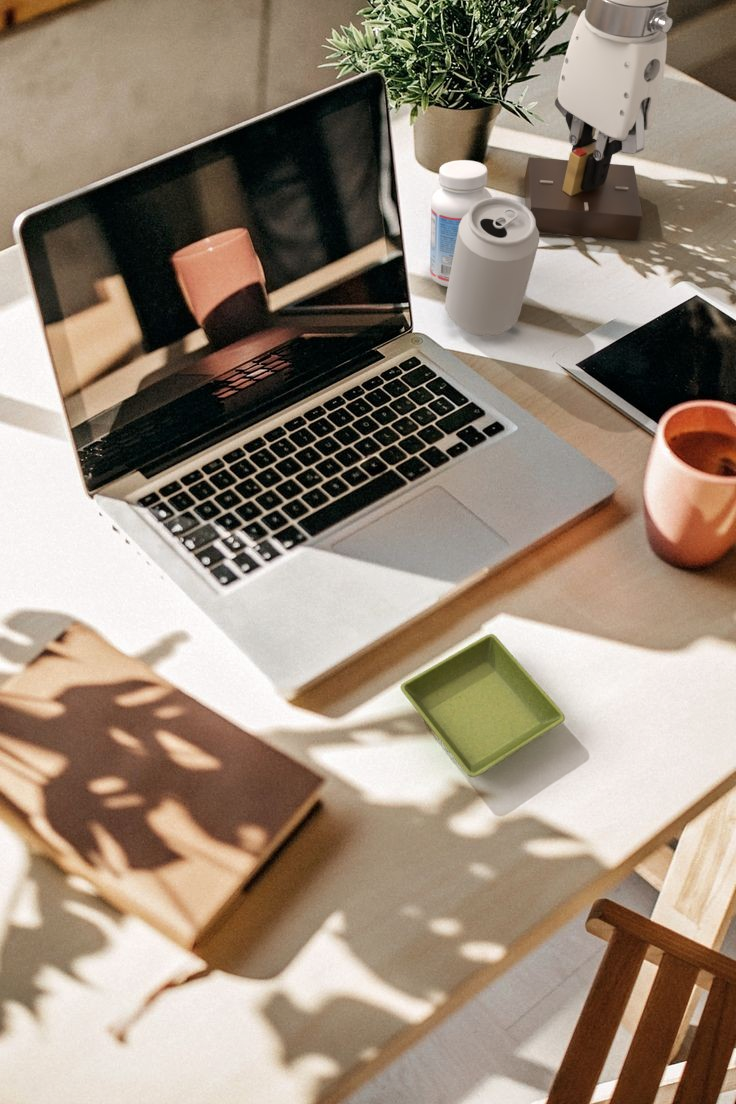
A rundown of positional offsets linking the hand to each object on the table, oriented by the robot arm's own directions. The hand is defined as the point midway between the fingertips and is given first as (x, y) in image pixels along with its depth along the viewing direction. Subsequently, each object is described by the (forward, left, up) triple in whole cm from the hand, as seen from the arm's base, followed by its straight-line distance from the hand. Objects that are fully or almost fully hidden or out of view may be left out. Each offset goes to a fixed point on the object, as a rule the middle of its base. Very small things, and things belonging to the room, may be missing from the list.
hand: (585, 181), depth 113 cm
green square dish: (+11, +66, -4) cm, 67 cm away
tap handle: (0, 0, 0) cm, 0 cm away
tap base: (0, 0, -4) cm, 4 cm away
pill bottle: (+13, +15, -3) cm, 20 cm away
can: (+11, +20, -3) cm, 23 cm away
